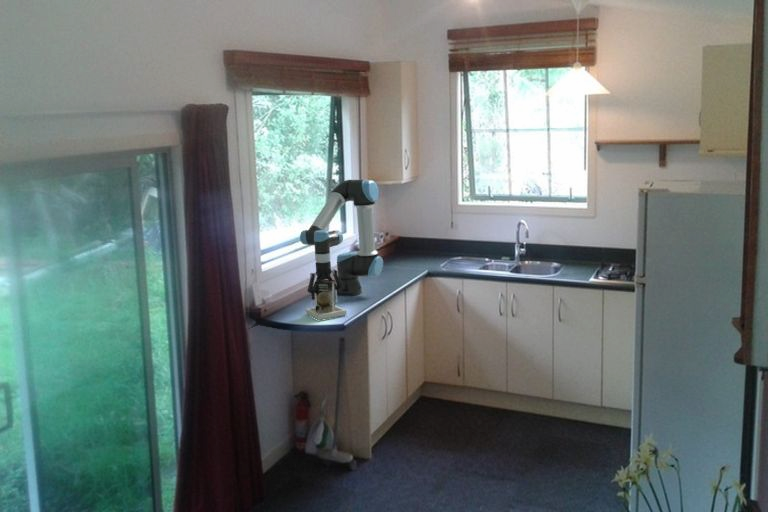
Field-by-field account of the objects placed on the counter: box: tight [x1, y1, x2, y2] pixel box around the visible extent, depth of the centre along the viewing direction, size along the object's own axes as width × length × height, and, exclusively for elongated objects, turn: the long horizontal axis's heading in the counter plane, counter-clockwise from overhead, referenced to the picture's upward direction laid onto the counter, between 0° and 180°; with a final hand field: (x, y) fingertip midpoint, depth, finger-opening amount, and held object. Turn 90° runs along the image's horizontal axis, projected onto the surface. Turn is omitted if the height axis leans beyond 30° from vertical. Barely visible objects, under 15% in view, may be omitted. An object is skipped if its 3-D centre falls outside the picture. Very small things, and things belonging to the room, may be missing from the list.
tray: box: [305, 304, 347, 321], centre depth 378 cm, size 15×15×3 cm
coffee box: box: [314, 279, 336, 313], centre depth 376 cm, size 9×6×16 cm
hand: (325, 303), depth 377 cm, fingers closed on coffee box, 11 cm apart
